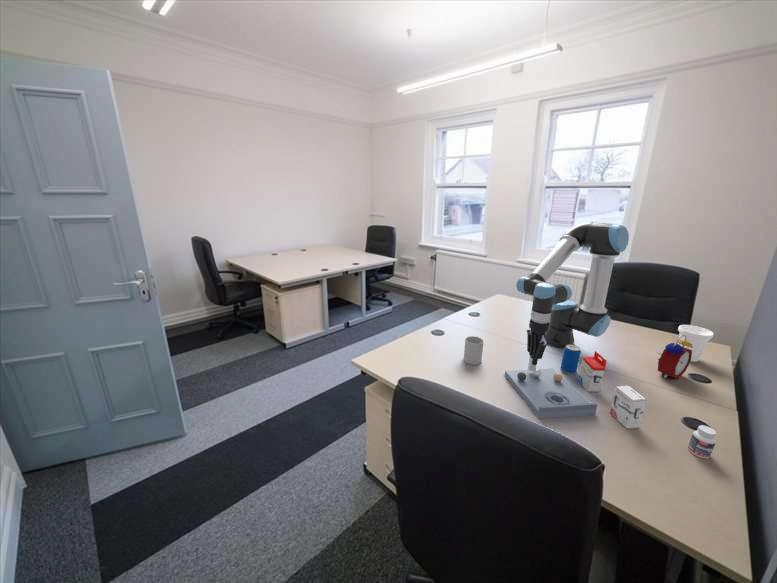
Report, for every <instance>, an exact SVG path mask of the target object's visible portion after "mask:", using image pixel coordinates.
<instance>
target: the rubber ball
mask: <svg viewBox="0 0 777 583" xmlns="http://www.w3.org/2000/svg"><path fill="white" fill-rule="evenodd" d="M517 377H518V379H519V380H521V381H524V380H525V379H526V374H525V373H523V372H520V373H518V375H517Z"/></svg>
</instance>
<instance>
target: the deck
mask: <svg viewBox="0 0 777 583" xmlns="http://www.w3.org/2000/svg"><path fill="white" fill-rule="evenodd" d="M537 369H538V370H539V371H540V372H541V376H540V377H538V378H536V377H534V376H533V375H532V372H533V371H529V370H528V369H517V370H515V369H513V370H505V371H504V377H505V378H506V379H507V381H508V382H509V384H511V386H512V387H513V388H514V389H515V390H516V392H517V393H518V394H519V395H520V397H521V398H522V400H524V402H525V403H526V404H527V406H528V407H529V408H530V409H531V410H532V411H533V413H534V415H535V416H536V417H537V418H538V419H550V418H552V419H553V418H562V417H578V416H589V415H591V416H592V415H596V413H597V408H598V403H597V402H590V401H589V400H588V399H586V398H585V397H584V396H583V395H582V394H581V393H580V392H579V391H577V390H576V388H574V387H573V386H572V385H571V384H570V383H569V382H568V381H567V380H566V379H565V378H563V379H562V380H561V381H556V380H555V379H554V378H553V376H554V374H555V373H558V372H557V371H556V370H554V368H551V367H550V368H537ZM520 372H523V373H525V374H526V379H525V380H524V381H521V380H519V379H518V377H517V375H518V373H520Z"/></svg>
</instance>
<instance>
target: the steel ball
mask: <svg viewBox="0 0 777 583" xmlns="http://www.w3.org/2000/svg"><path fill="white" fill-rule="evenodd" d="M538 369H539V368H536V369H535V370H533V372H532V375H533V376H534V377H536V378H538V377H540V376H541V372H540V371H539V370H538Z"/></svg>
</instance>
